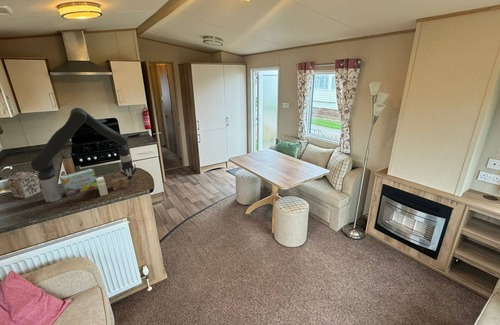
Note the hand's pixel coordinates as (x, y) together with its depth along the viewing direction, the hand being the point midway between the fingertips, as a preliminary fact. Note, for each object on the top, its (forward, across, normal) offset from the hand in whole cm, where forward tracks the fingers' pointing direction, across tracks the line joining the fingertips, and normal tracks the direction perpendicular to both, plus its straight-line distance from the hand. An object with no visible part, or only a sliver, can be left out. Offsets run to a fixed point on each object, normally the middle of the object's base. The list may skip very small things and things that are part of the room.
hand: (130, 179), depth 194 cm
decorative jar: (+3, -68, +27) cm, 73 cm away
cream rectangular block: (+4, -20, -1) cm, 21 cm away
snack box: (+4, -34, +10) cm, 36 cm away
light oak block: (+4, -8, 0) cm, 9 cm away
